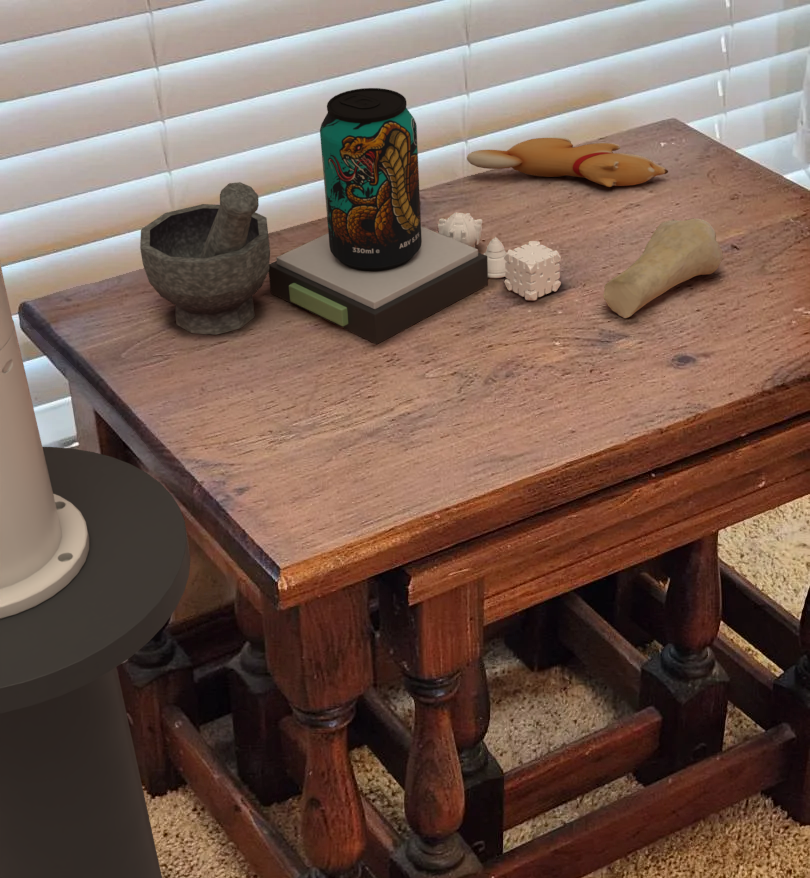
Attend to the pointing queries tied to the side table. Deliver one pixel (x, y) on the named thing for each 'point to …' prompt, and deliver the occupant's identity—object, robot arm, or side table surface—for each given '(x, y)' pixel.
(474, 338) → the side table surface
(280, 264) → the scale
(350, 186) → the beverage can
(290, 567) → the side table surface
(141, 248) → the mortar and pestle
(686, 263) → the tan bone
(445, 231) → the game pieces
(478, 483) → the side table surface
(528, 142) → the toy
